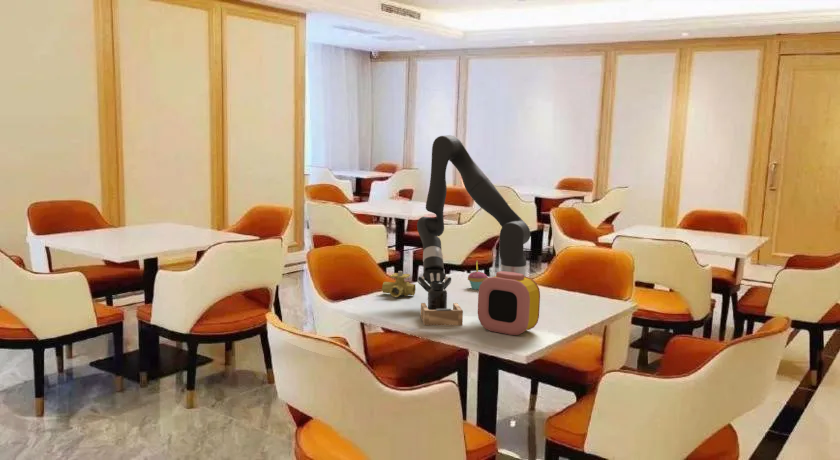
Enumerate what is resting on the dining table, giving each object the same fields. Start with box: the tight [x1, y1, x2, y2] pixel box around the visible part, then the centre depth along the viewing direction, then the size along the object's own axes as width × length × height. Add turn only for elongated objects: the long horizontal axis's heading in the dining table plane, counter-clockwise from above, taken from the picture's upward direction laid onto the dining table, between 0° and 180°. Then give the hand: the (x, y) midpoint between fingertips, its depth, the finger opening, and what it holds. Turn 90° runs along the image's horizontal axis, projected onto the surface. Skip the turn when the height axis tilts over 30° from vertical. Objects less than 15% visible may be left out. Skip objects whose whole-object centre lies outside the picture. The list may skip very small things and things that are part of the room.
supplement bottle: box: [427, 280, 448, 310], centre depth 262 cm, size 7×7×12 cm
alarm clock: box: [477, 270, 541, 336], centre depth 243 cm, size 18×11×19 cm, turn 56°
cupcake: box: [467, 261, 489, 290], centre depth 310 cm, size 9×8×12 cm
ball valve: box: [381, 270, 417, 298], centre depth 291 cm, size 13×10×10 cm
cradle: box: [420, 302, 464, 326], centre depth 254 cm, size 12×13×5 cm
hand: (436, 300), depth 266 cm, fingers closed
